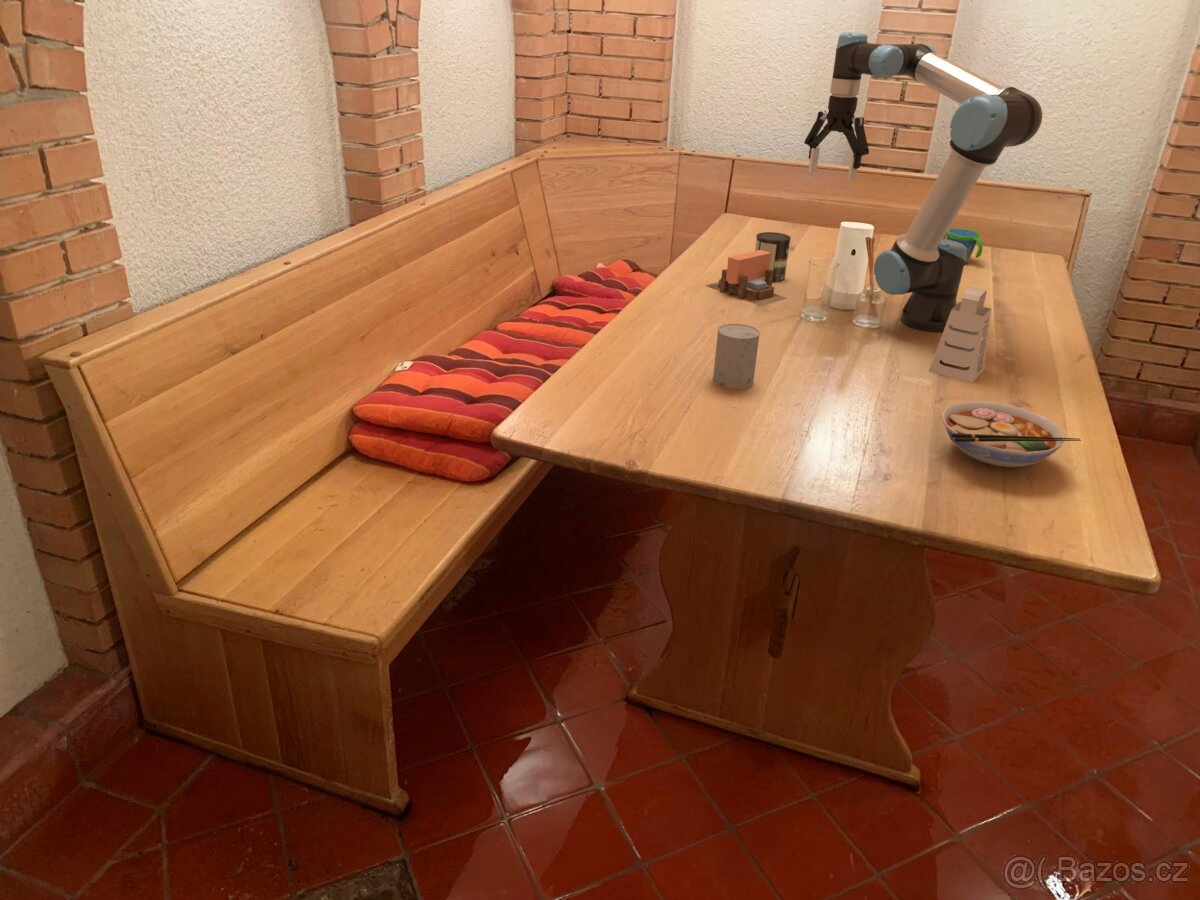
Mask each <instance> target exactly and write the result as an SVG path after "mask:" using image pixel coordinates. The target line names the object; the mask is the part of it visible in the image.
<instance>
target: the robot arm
mask: <svg viewBox="0 0 1200 900" xmlns="http://www.w3.org/2000/svg"><path fill="white" fill-rule="evenodd" d="M868 38H869V37H868V34H866V33H861V32H842V33H840V34H839V35H838V39H837V44H836V48H835V55H834V64H833V72H832V77H831V82H830V83H831V84H830V89H829V92H830V94H831V95H830V96H829V97H828V98H829V99H828V104H827V110H828V111H826V110H822V111H820V110H819V111H818V113H817V116H816V120H815V122H814V123H813V125H812V127H811V129H810V131H809V132H808V134H807V136H806V137H805V139H804V144H805V145H807V146H808V147H809V151H808V160H809V164H808V165H809V166H808V173H815V172H817V168H818V161H819V156H820V149H821V147H819V145H820V144H821V143H822V142H823V141H824V140H825V138H827V136H828V135H829V134H830V133H832V132H837V133H842V134H843V135H844V136H845V138H846V140H847V142H848V144H849V146H850V149H851V151H852V154H853V155H851V156H850V161H849V162H850V163H849V169H848V173H847V180H846V182H847V181H848V182H853V181H856V179H857V174H858V169H860V168H861V164H862V163H861V162H862V157H863V156H867V155H869V154H870V150H869V144H868V140H867V135H866V131H865V130H866V129H865V118H864V117H862V116H859V117H855V113H856V111H857V106H858V97H857V96H858V95H859V93H860V92H859V91H860V86H861V82H862V81H861V80H862V75H869V76H873V77H877V78H892V77H894V76H906V77H907V76H908V77H910V78H912V79H914V80H915V81H917V82H919V83H921V84H923V85H925V86H926V87H928V88H930V89H932V90H933V91H935V92H937V93H940V94H941V95H943V96H945V97H947V98H948V99H950V100H952V101H954V102H955V103H958V104H959V106H958V108H957V109H956V110H955V111H954V113H953V115H952V116H951V117H952V118H951V120H950V124H949V127H950V129H951V131H950V132H949V134H950V138H951V139H950V141H949V147H950V151H951V152H950V153H949V155H948V158H947V160H946V162H945V163H944V165H943V167H942V168H941V171H940V172H939V174H938V175H937V178H936V179H935V181H934V182H933V184H932V187H931V188H930V190H929V192H928V194H927V195H926V197H925V199H924V200H923V201H924V202H923V203H922V205H921V207H920V208H919V210H918V212H917V214H916V216H915V218H914V219H913V221H912V223H911V225H910V226H909V229H908V230H907V232H905V233H902V234H899V235H898V236H897V238H896V239H895V241H894V243H893V245H892V247H891V248H890V249H887V250H883V251H882V252H880V253H879V254H878V255H877V256H876V258H875V261H874V264H873V274H874V278H875V282H876V284H877V285H878V287H879V288H880V289H881V290H882V291H883V292H884V293H885V294H888V295H890V296H896V295H901V296H902V295H906V294H910V296H909V298H908V299H907V301H906V303H905V305H904V306H903V308H902V310H901V313H900V319H899V320H900V321H901V322H902V323H903V324H904V325H907V326H908V327H911V328H915V329H918V330H921V331H928V332H940V333H941V332H942V333H943V331H944V329H945V326H946V323H947V320H948V318H949V315H950V312H951V309H953V308H954V307H955V306H956V305H957V304H958V303H957V296H958V292H959V289H960V285H961V284H960V283H961V280H962V276H963V272H964V271H963V270H964V267H965V264H964V263H965V261H966V253H967V249H966V247H965V246H964V245H963V244H961V243H958V242H955V241H951V240H947V238H944V236H945V234H946V232H947V231H948V230H949V229H950V227H951V226H952V224H953V223H954V221H955V219H956V217H957V216H958V214H959V213H960V210H961V209H962V207H963V205H964V204H965V202H966V200H967V199H968V196H969V195H970V193H971V191H972V189H974V187H975V185H976V183H977V181H978V180H979V178H980V176H981V174H982V173H983V171H984V169H985V168H986V167H989V166H993V165H994V164H995V163H996V162H997V160H998V159H999V157H1000V155H1001V154H1002V153H1003V150H1004V149H1005V148H1008V147H1009V148H1011V147H1017V146H1020V145H1023V144H1025V143H1027V142H1028V141H1030V140H1031V139H1032V138H1034V136H1035V135H1036V134H1037V133H1038V131H1039V130H1040V128H1041V124H1042V122H1043V121H1042V120H1043V111H1042V110H1043V109H1042V107H1041V104H1040V102H1039V101H1038V100H1037V99H1036V98H1035V97H1034V96H1032V95H1030V94H1028V93H1027V92H1024V91H1022V90H1020V89H1018V88H1016V87H1014V86H1006V87H1003V86H1001V85H1000V84H997V83H995V82H993V81H991V80H990V79H987V78H986V77H984V76H981V75H979V74H977V73H975V72H973V71H971V70H970V69H968V68H965V67H964V66H962V65H959V64H957V63H955V62H953V61H951V60H949V59H947V58H945V57H943V56H941V55H939V54H937V52H936V50H935V48H934V47H933V46H932V45H929V44H924V43H909V44H907V43H903V44H902V43H901V44H900V43H899V44H897V43H895V44H894V43H887V44H886V43H871V42H869V41H868ZM826 121H827V123H826V124H825V122H826ZM853 126H854V127H853ZM822 127H823V128H822ZM821 129H822V130H821ZM946 235H947V234H946ZM945 237H946V236H945ZM943 238H944V239H943Z"/></svg>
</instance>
